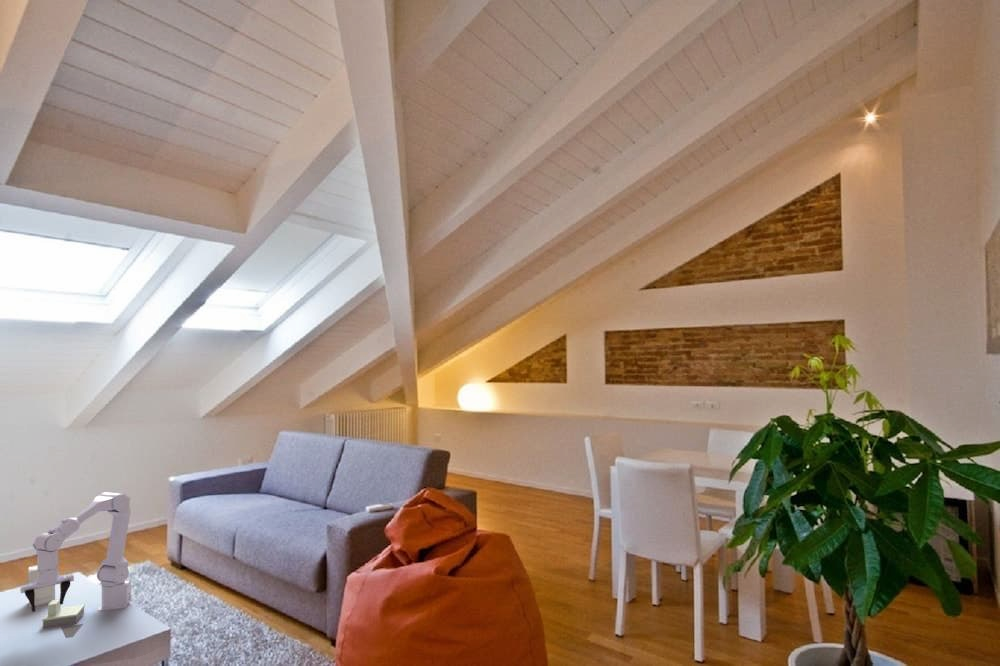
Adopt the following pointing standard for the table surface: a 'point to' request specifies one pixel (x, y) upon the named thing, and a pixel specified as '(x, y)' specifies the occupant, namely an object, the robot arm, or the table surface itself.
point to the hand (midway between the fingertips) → (47, 607)
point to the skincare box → (40, 589)
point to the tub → (63, 620)
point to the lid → (61, 610)
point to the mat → (70, 630)
